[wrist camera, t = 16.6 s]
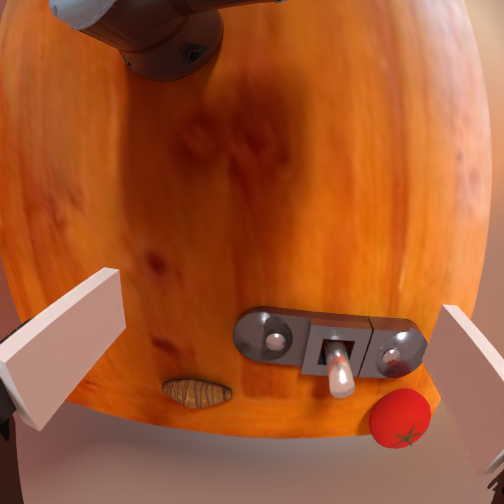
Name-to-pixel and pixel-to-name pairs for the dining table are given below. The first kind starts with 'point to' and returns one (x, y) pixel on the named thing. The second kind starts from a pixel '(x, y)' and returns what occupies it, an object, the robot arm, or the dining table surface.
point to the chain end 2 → (367, 346)
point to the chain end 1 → (279, 333)
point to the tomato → (400, 418)
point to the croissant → (196, 392)
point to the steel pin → (338, 368)
